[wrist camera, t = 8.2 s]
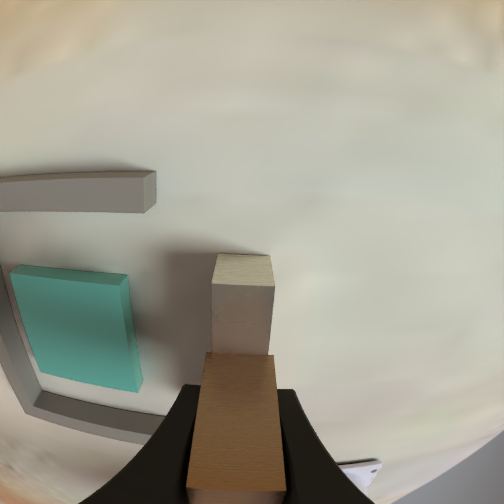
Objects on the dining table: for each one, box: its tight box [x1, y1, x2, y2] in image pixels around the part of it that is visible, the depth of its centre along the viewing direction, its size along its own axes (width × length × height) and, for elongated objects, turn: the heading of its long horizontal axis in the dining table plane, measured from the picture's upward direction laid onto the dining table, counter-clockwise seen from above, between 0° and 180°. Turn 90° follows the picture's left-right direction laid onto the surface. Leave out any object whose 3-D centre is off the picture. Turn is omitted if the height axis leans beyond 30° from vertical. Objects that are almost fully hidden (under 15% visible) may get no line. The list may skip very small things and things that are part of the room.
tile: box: [10, 265, 143, 393], centre depth 14 cm, size 6×6×2 cm
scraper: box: [186, 254, 286, 504], centre depth 10 cm, size 8×2×8 cm, turn 177°
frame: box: [0, 171, 165, 445], centre depth 13 cm, size 14×10×2 cm
